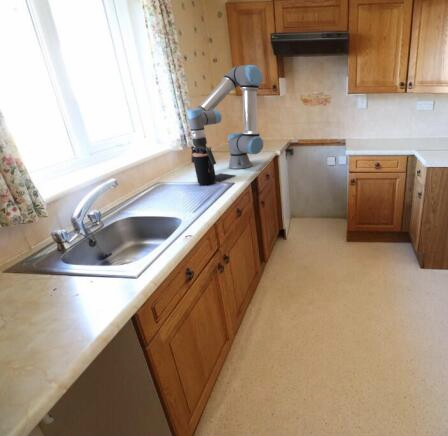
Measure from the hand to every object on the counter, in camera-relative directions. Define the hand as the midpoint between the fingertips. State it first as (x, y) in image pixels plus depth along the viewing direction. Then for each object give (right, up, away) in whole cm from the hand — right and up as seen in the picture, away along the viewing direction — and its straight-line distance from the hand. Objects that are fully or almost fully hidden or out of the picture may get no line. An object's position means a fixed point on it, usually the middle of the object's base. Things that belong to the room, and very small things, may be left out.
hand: (205, 174), depth 192 cm
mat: (+6, 0, +12) cm, 13 cm away
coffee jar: (0, -5, +2) cm, 5 cm away
